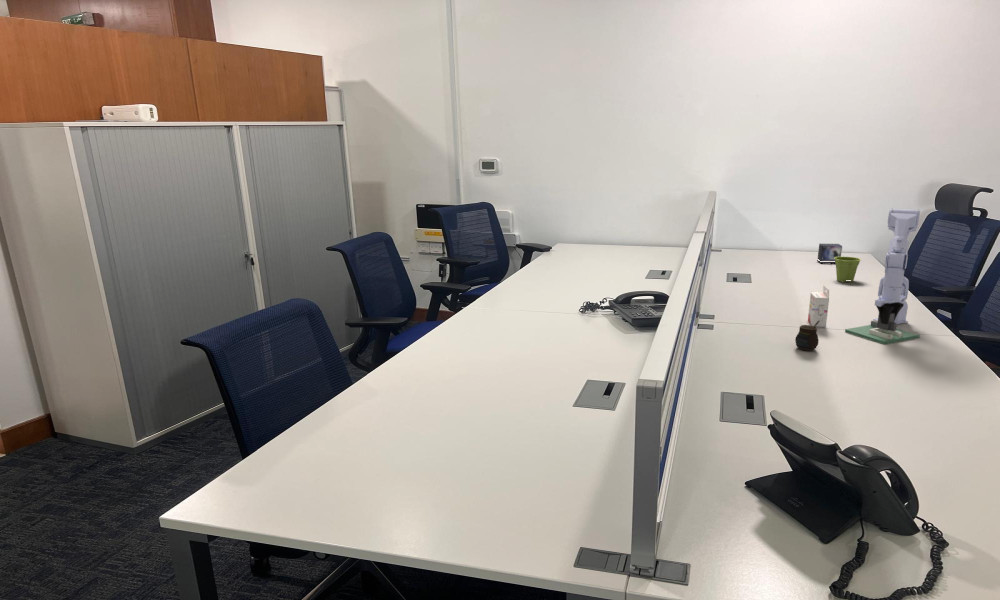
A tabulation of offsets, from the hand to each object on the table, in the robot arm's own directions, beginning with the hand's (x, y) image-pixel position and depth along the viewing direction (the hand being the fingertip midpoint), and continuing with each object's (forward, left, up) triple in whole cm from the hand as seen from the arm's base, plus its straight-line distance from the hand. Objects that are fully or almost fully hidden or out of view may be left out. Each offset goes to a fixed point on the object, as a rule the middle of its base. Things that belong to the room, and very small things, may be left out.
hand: (887, 322), depth 232 cm
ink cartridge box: (+8, -23, -6) cm, 25 cm away
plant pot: (-63, -70, -6) cm, 94 cm away
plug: (0, -1, -2) cm, 2 cm away
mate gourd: (+35, -3, -6) cm, 36 cm away
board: (-2, -3, -6) cm, 7 cm away
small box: (-92, -105, -6) cm, 140 cm away
